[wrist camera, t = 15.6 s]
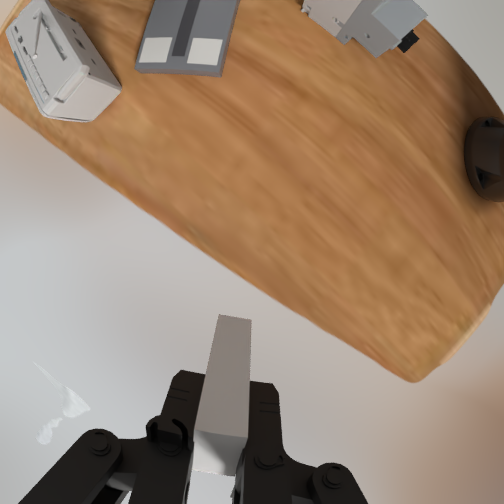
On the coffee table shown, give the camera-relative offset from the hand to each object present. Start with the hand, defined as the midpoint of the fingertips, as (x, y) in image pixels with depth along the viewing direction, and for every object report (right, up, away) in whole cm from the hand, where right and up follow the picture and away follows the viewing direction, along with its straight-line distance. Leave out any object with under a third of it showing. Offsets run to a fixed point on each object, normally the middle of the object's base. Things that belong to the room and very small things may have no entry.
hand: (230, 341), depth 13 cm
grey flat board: (-7, +41, +17) cm, 45 cm away
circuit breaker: (+16, +37, +18) cm, 44 cm away
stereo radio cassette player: (-25, +34, +20) cm, 46 cm away
